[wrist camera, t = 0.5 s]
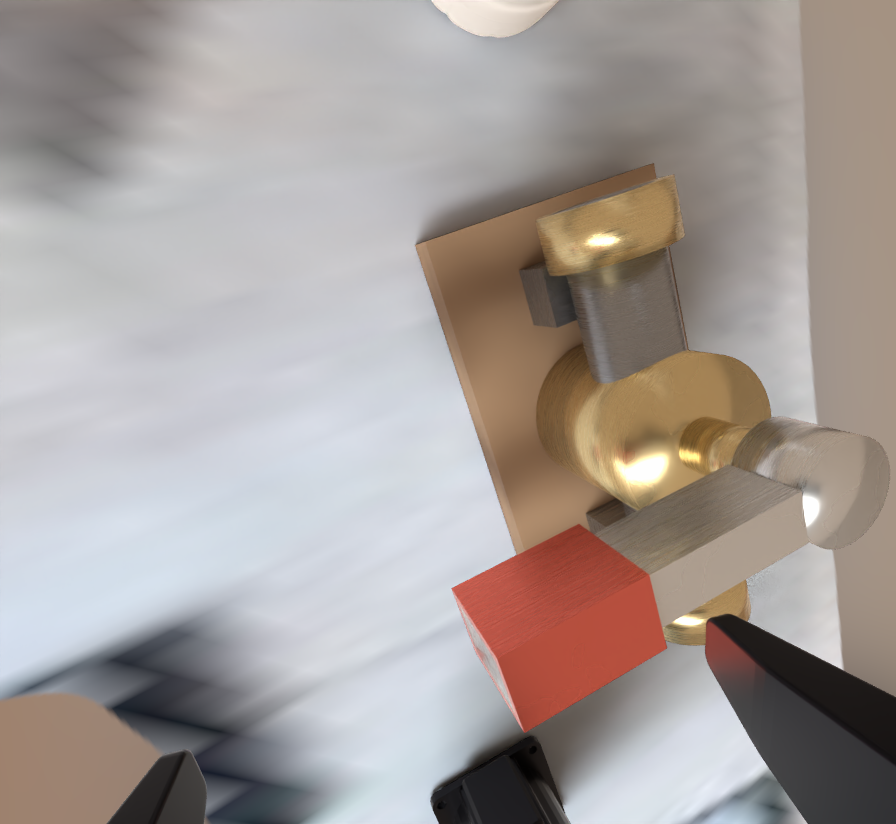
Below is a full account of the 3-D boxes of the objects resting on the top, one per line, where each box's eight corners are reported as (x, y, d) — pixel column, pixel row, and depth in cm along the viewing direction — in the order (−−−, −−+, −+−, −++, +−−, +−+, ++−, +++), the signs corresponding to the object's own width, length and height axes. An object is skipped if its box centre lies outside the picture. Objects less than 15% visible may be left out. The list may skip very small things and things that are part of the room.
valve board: (711, 568, 32) (731, 580, 31) (551, 658, 30) (565, 676, 28) (632, 170, 25) (653, 163, 24) (415, 245, 23) (425, 241, 21)
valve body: (686, 538, 29) (858, 638, 21) (584, 594, 28) (726, 725, 19) (612, 190, 24) (806, 134, 15) (480, 236, 22) (615, 202, 14)
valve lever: (794, 398, 17) (898, 419, 14) (805, 487, 18) (904, 522, 15) (445, 573, 14) (490, 640, 12) (480, 666, 15) (530, 749, 13)
